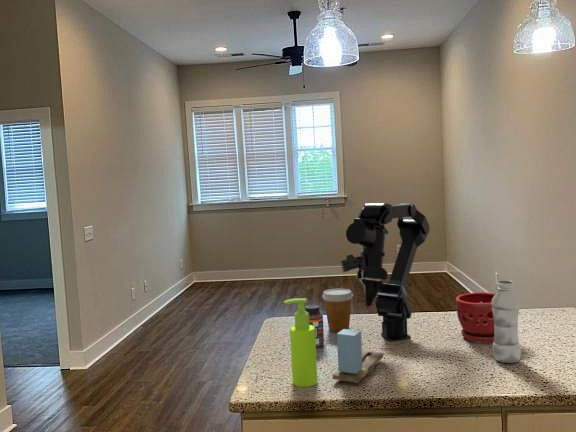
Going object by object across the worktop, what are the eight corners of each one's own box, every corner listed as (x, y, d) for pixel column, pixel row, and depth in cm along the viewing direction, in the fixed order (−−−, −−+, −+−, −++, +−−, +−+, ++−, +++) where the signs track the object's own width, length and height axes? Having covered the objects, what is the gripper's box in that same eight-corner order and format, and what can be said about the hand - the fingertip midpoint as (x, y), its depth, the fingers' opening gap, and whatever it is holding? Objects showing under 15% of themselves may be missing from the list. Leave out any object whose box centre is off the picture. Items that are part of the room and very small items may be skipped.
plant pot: (480, 328, 157) (479, 289, 156) (516, 340, 145) (515, 297, 144) (447, 336, 151) (446, 295, 150) (481, 349, 139) (480, 305, 138)
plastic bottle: (509, 368, 125) (507, 286, 123) (486, 360, 131) (484, 281, 129) (527, 362, 128) (525, 282, 126) (504, 354, 134) (502, 278, 132)
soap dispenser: (287, 378, 126) (283, 297, 124) (315, 376, 126) (311, 295, 125) (289, 388, 120) (284, 303, 118) (319, 385, 120) (315, 300, 119)
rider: (345, 370, 126) (343, 328, 125) (362, 372, 123) (360, 330, 123) (338, 376, 122) (336, 333, 121) (356, 378, 120) (354, 335, 119)
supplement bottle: (322, 348, 146) (321, 309, 145) (301, 348, 147) (299, 309, 146) (325, 342, 151) (323, 303, 151) (305, 341, 153) (303, 303, 152)
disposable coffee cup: (336, 323, 170) (335, 287, 169) (360, 328, 163) (358, 290, 162) (317, 330, 163) (315, 292, 162) (341, 335, 156) (339, 296, 155)
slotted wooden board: (360, 357, 137) (360, 349, 137) (383, 361, 134) (383, 352, 134) (332, 383, 121) (332, 374, 121) (358, 387, 118) (357, 378, 118)
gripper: (341, 247, 152) (336, 301, 150) (346, 242, 133) (340, 304, 131) (379, 251, 151) (375, 305, 149) (390, 247, 133) (384, 309, 131)
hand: (368, 306), depth 140 cm, fingers closed
